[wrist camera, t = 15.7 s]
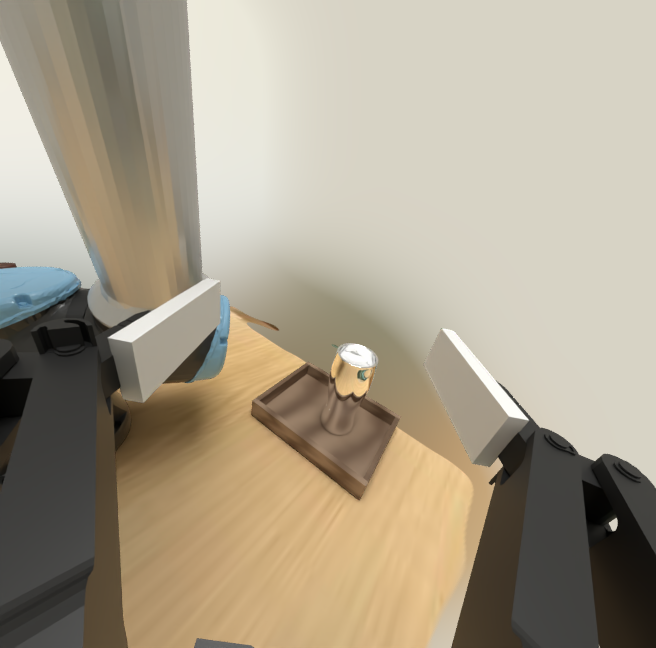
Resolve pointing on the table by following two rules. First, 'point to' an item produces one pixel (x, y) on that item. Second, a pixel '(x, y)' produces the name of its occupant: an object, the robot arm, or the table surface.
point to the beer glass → (348, 386)
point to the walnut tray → (314, 440)
